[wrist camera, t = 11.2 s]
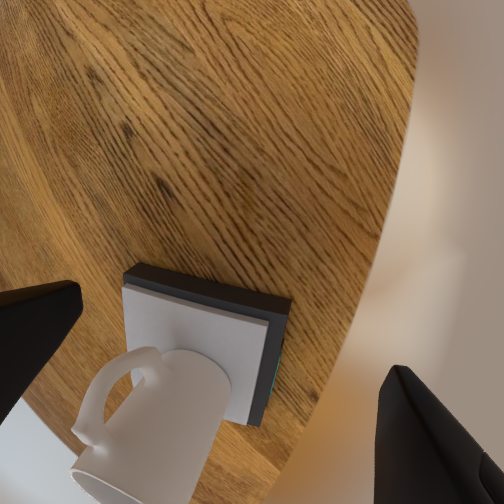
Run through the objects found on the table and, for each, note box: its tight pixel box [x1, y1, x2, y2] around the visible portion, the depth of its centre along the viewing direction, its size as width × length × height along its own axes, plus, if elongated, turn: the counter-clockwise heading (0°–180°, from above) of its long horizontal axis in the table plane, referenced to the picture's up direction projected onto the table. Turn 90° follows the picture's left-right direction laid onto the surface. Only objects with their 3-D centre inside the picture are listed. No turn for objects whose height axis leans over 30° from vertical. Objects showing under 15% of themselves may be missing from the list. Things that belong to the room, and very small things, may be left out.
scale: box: [122, 263, 292, 427], centre depth 23 cm, size 12×12×3 cm
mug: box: [69, 346, 231, 504], centre depth 16 cm, size 10×7×12 cm, turn 13°
